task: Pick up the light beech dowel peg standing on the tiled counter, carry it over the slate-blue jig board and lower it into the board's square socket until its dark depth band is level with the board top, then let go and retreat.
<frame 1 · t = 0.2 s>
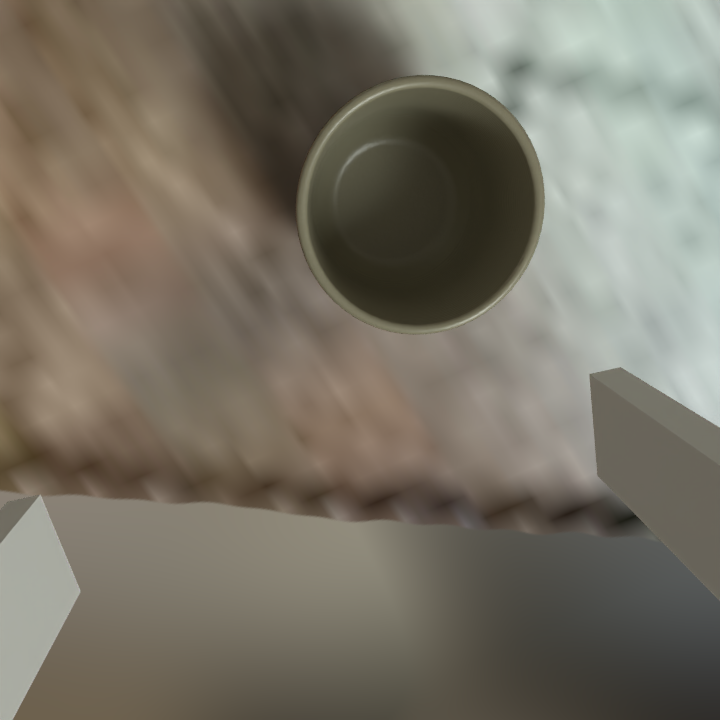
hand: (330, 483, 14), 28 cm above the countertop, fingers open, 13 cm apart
planter: (391, 202, 40), on the countertop
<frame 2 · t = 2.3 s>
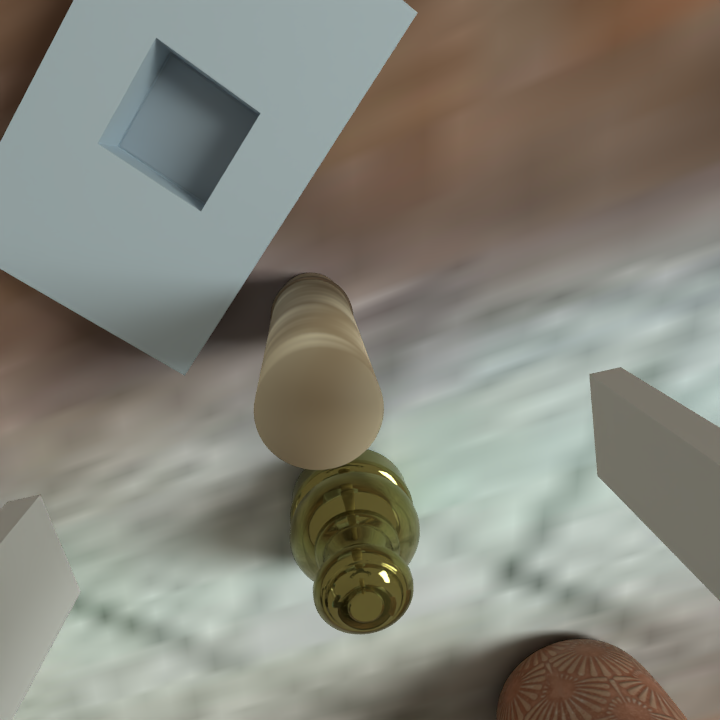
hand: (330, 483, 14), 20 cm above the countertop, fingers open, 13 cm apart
beech peg: (311, 304, 34), on the countertop
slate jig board: (194, 134, 30), on the countertop
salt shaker: (349, 496, 38), on the countertop
planter: (562, 685, 44), on the countertop
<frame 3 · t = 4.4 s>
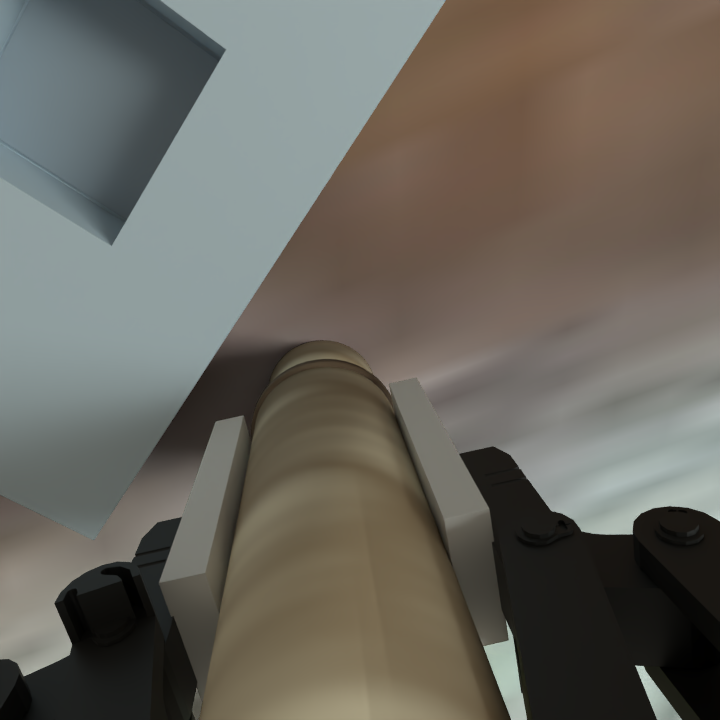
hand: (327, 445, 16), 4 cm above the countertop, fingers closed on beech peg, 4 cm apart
beech peg: (322, 392, 20), on the countertop, touching gripper
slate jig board: (115, 100, 17), on the countertop
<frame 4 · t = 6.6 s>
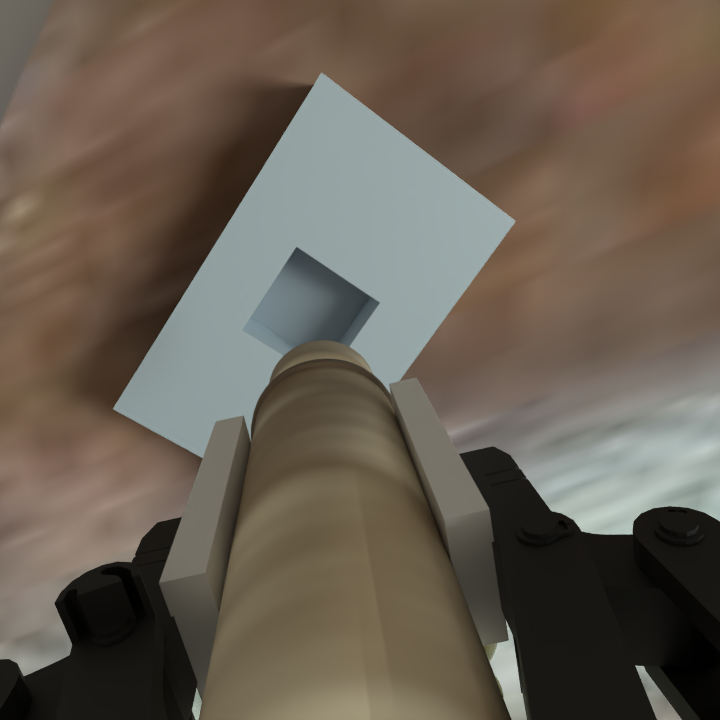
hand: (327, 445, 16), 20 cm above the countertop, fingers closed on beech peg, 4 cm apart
beech peg: (322, 391, 20), point 16 cm above the countertop, touching gripper
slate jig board: (310, 301, 35), on the countertop
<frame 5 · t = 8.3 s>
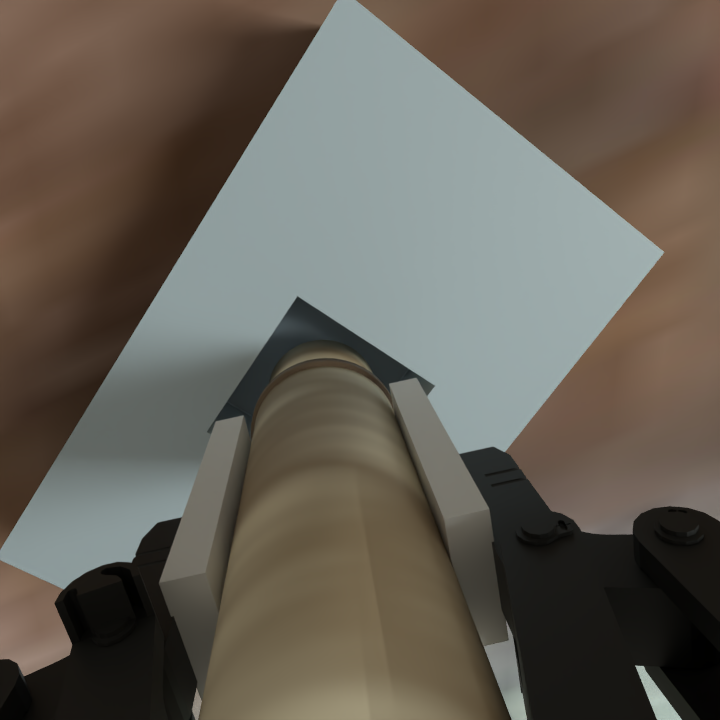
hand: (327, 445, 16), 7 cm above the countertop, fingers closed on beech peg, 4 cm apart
beech peg: (322, 391, 20), point 3 cm above the countertop, touching gripper
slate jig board: (318, 369, 23), on the countertop
when the fingers open (5 cm above the countertop, at t = 8.8 s): beech peg stays where it is, resting on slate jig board.
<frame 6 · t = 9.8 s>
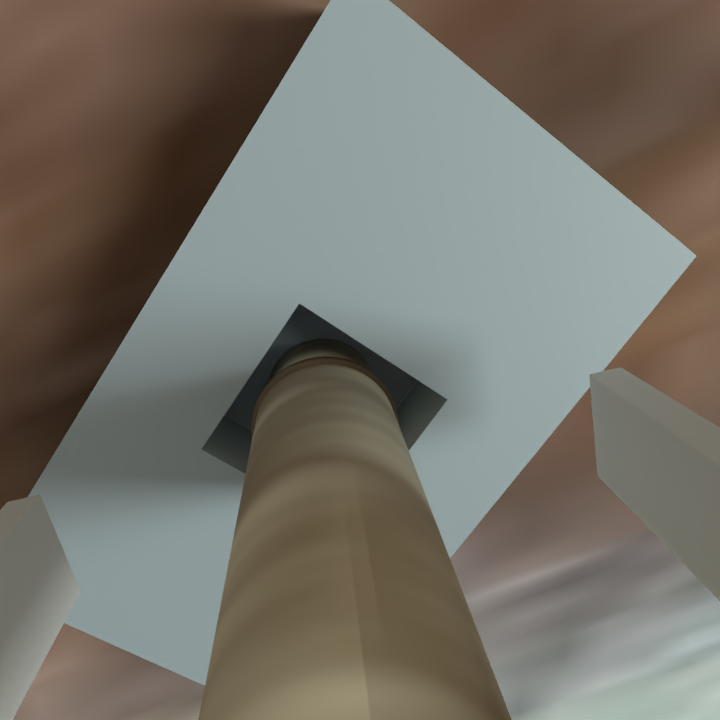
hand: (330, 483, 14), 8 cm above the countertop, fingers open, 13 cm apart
beech peg: (322, 389, 20), point 1 cm above the countertop, touching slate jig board
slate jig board: (321, 379, 21), on the countertop
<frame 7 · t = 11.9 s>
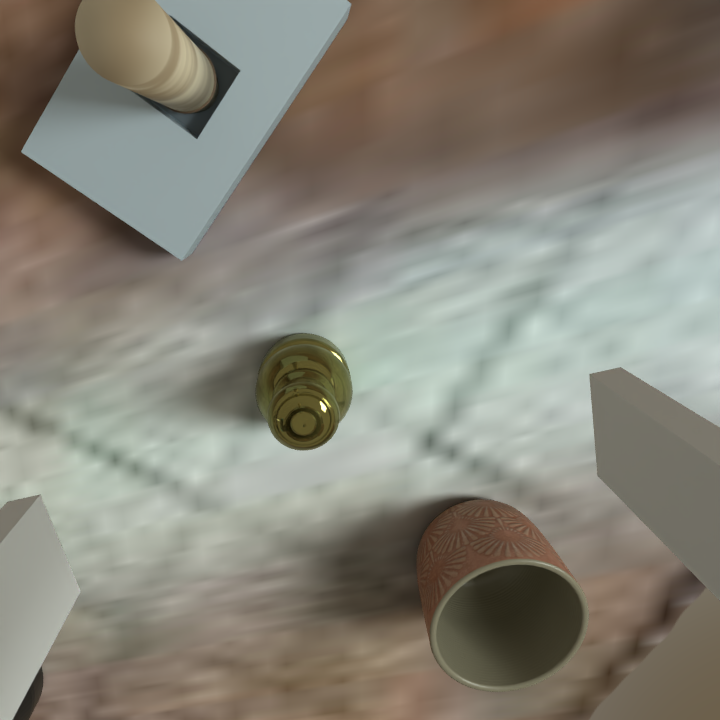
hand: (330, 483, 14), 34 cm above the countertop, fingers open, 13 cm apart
beech peg: (192, 84, 41), point 1 cm above the countertop, touching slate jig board
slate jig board: (195, 87, 42), on the countertop
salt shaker: (304, 374, 49), on the countertop
planter: (472, 542, 56), on the countertop
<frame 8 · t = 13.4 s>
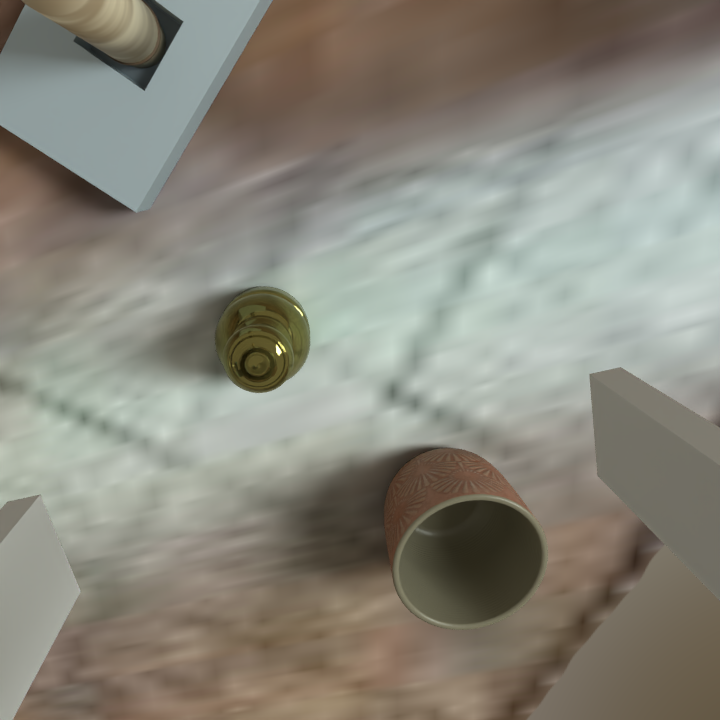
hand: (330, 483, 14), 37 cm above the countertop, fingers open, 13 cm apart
beech peg: (139, 40, 42), point 1 cm above the countertop, touching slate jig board
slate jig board: (143, 43, 43), on the countertop
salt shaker: (266, 328, 51), on the countertop
planter: (440, 492, 57), on the countertop
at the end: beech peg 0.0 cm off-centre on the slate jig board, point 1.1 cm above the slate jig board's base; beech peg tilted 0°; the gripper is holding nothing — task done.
